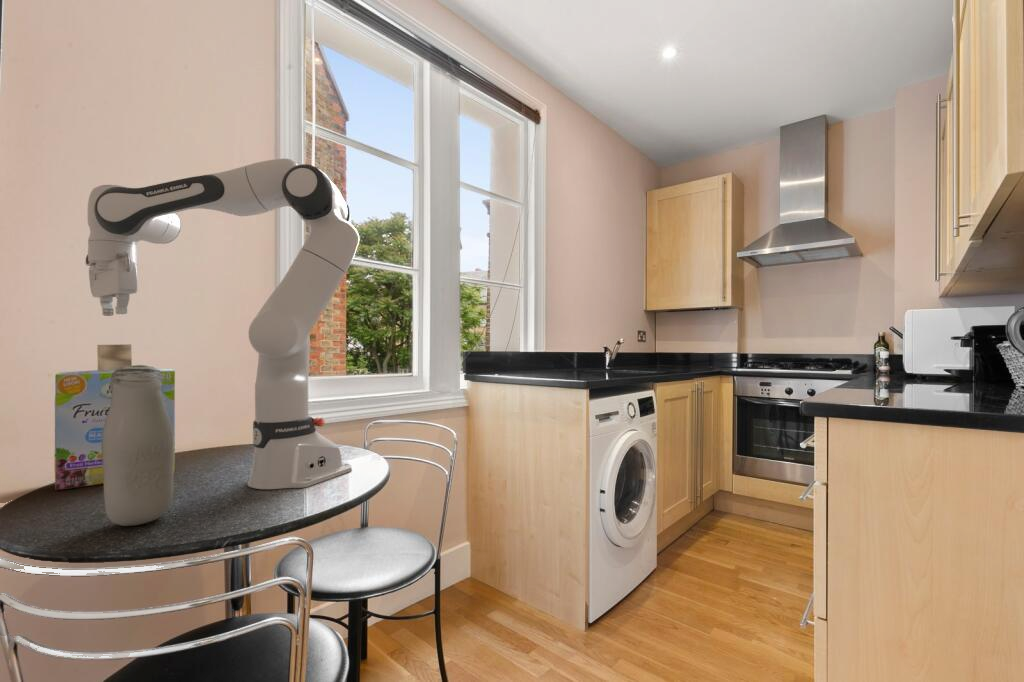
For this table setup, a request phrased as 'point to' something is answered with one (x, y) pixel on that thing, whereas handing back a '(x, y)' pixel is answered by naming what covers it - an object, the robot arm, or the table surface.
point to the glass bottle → (137, 448)
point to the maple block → (113, 357)
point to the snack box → (90, 424)
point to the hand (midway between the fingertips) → (114, 315)
